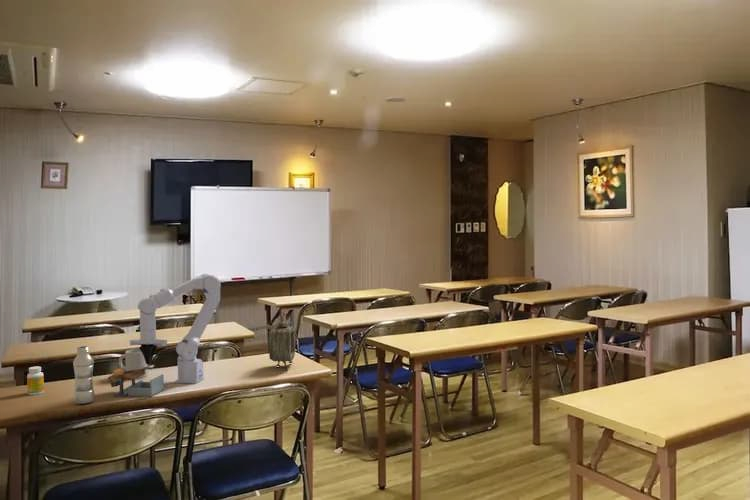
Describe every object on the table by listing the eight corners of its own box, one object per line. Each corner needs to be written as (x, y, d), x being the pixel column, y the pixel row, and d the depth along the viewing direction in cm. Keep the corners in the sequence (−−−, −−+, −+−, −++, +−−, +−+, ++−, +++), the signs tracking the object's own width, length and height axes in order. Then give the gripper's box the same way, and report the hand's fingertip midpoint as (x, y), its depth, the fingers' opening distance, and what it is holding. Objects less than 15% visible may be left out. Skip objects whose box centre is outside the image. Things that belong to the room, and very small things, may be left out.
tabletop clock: (290, 371, 245) (289, 313, 244) (269, 371, 246) (267, 313, 245) (295, 363, 260) (294, 308, 259) (275, 363, 260) (274, 308, 259)
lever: (156, 374, 226) (154, 364, 226) (137, 383, 212) (135, 372, 212) (130, 378, 227) (128, 368, 227) (110, 387, 214) (108, 377, 214)
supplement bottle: (32, 395, 214) (31, 370, 214) (24, 393, 217) (23, 368, 216) (46, 392, 219) (46, 366, 218) (39, 390, 221) (38, 365, 221)
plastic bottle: (78, 400, 207) (76, 345, 206) (98, 400, 207) (96, 345, 207) (70, 406, 200) (68, 349, 200) (90, 405, 201) (88, 348, 200)
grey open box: (163, 390, 219) (163, 374, 219) (151, 396, 211) (151, 380, 210) (141, 389, 221) (140, 373, 220) (128, 396, 212) (127, 380, 212)
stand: (141, 388, 222) (141, 371, 221) (125, 396, 211) (125, 378, 211) (129, 388, 222) (129, 371, 222) (113, 396, 212) (112, 378, 211)
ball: (126, 375, 218) (124, 366, 218) (121, 378, 215) (119, 368, 215) (118, 377, 219) (116, 368, 219) (112, 380, 215) (110, 370, 215)
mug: (151, 374, 243) (151, 348, 243) (141, 379, 235) (140, 353, 235) (125, 373, 245) (124, 348, 245) (113, 379, 237) (112, 352, 236)
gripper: (124, 330, 221) (125, 365, 221) (160, 331, 219) (161, 366, 219) (135, 327, 228) (135, 361, 228) (169, 327, 226) (170, 362, 226)
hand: (148, 363), depth 224 cm, fingers closed
